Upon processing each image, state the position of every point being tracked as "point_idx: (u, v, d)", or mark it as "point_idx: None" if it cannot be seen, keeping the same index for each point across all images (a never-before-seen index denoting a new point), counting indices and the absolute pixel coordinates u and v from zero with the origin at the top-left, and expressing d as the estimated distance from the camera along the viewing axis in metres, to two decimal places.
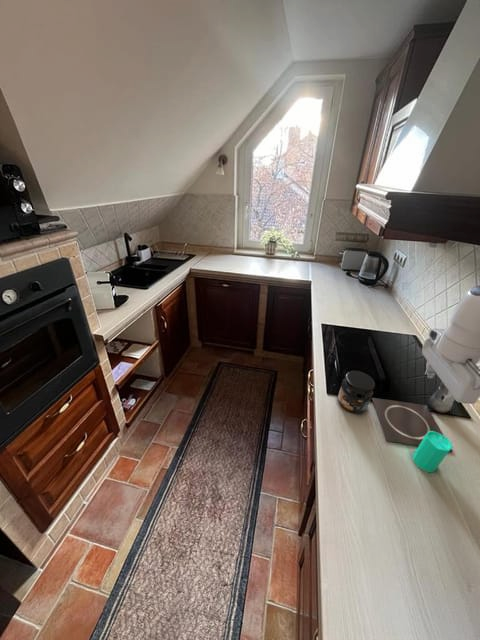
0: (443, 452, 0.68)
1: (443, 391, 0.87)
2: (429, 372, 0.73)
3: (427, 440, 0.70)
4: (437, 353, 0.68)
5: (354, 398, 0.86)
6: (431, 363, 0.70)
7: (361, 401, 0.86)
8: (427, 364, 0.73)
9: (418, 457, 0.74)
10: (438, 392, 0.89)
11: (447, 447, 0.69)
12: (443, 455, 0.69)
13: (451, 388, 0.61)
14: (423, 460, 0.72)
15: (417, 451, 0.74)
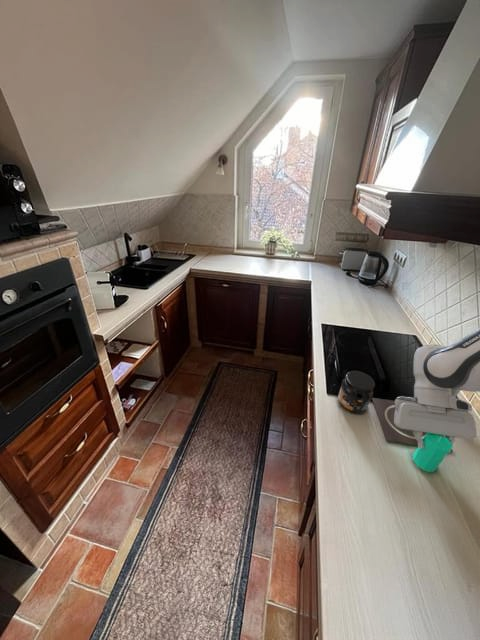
0: (443, 452, 0.68)
1: None
2: None
3: (427, 440, 0.70)
4: None
5: (354, 398, 0.86)
6: None
7: (361, 401, 0.86)
8: None
9: (418, 458, 0.74)
10: None
11: (447, 447, 0.69)
12: (443, 455, 0.69)
13: None
14: (423, 460, 0.72)
15: (417, 451, 0.74)
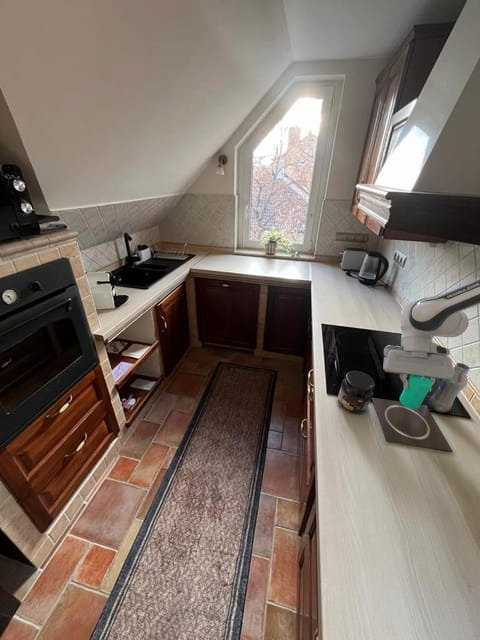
0: (424, 389, 0.79)
1: (443, 391, 0.87)
2: None
3: (411, 380, 0.82)
4: None
5: (354, 398, 0.86)
6: None
7: (361, 401, 0.86)
8: None
9: (404, 397, 0.85)
10: (438, 392, 0.89)
11: (428, 385, 0.80)
12: (424, 392, 0.80)
13: None
14: (408, 399, 0.83)
15: (403, 392, 0.86)
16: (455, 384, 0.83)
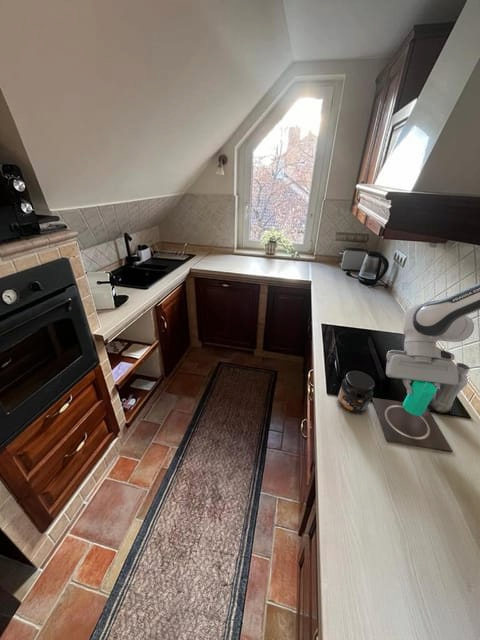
0: (428, 395, 0.77)
1: (443, 391, 0.87)
2: None
3: (414, 386, 0.79)
4: None
5: (354, 398, 0.86)
6: None
7: (361, 401, 0.86)
8: None
9: (407, 403, 0.83)
10: (438, 392, 0.89)
11: (432, 391, 0.78)
12: (428, 398, 0.78)
13: None
14: (412, 405, 0.81)
15: (406, 398, 0.83)
16: None
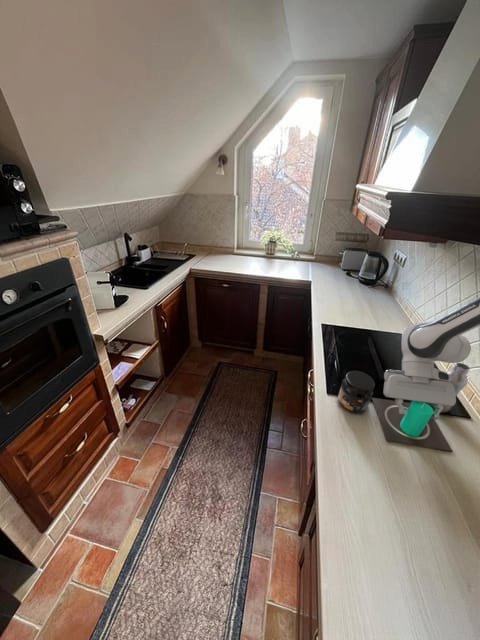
0: (426, 417, 0.77)
1: None
2: None
3: (412, 407, 0.79)
4: None
5: (354, 398, 0.86)
6: None
7: (361, 401, 0.86)
8: None
9: (404, 424, 0.83)
10: None
11: (429, 412, 0.78)
12: (425, 419, 0.78)
13: None
14: (409, 426, 0.81)
15: (403, 418, 0.83)
16: (455, 384, 0.83)
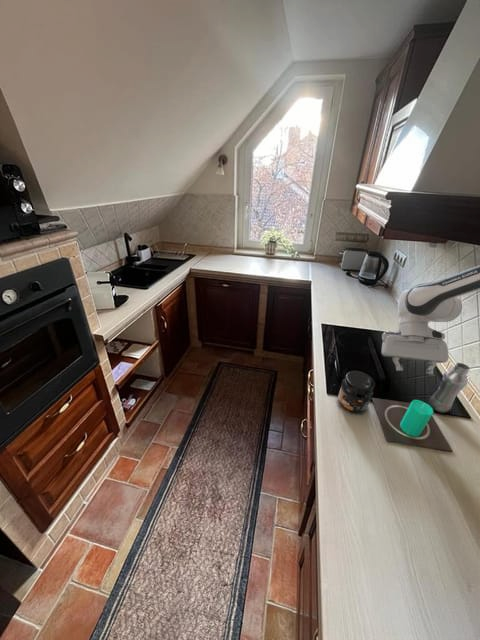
0: (426, 417, 0.77)
1: (443, 391, 0.87)
2: None
3: (412, 407, 0.79)
4: None
5: (354, 398, 0.86)
6: None
7: (361, 401, 0.86)
8: None
9: (404, 424, 0.83)
10: (438, 392, 0.89)
11: (429, 412, 0.78)
12: (425, 419, 0.78)
13: None
14: (409, 426, 0.81)
15: (403, 418, 0.83)
16: (455, 384, 0.83)
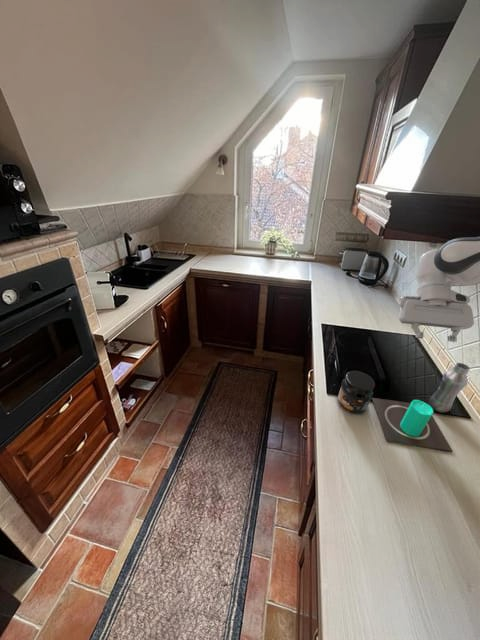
0: (426, 417, 0.77)
1: (443, 391, 0.87)
2: None
3: (412, 407, 0.79)
4: None
5: (354, 398, 0.86)
6: None
7: (361, 401, 0.86)
8: None
9: (404, 424, 0.83)
10: (438, 392, 0.89)
11: (429, 412, 0.78)
12: (425, 419, 0.78)
13: None
14: (409, 426, 0.81)
15: (403, 418, 0.83)
16: (455, 384, 0.83)
